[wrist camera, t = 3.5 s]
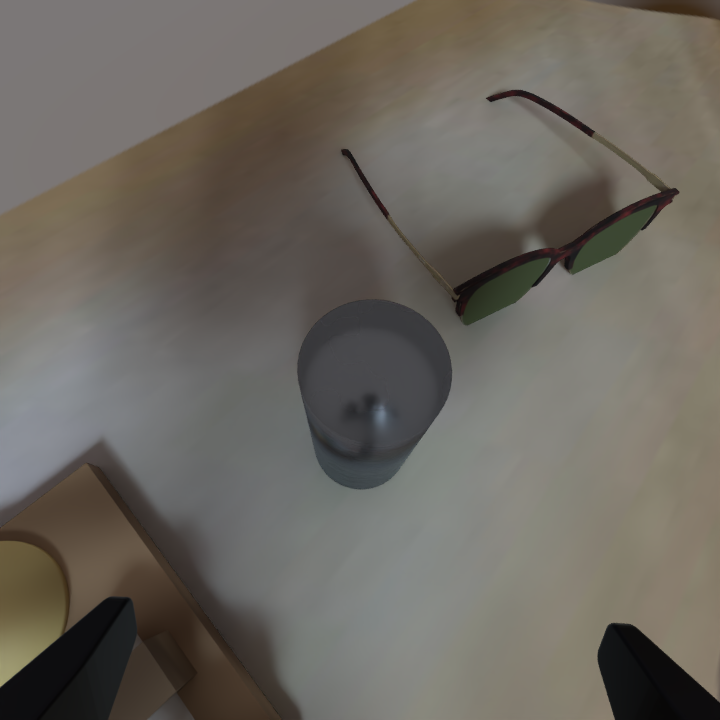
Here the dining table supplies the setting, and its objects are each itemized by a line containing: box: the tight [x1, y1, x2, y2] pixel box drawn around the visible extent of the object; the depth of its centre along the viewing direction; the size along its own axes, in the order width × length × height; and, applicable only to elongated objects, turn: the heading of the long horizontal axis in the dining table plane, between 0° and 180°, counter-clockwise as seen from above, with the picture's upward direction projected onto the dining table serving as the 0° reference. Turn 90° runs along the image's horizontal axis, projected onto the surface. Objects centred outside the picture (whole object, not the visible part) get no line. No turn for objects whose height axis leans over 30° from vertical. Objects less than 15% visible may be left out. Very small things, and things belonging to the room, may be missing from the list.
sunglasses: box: [341, 90, 680, 325], centre depth 28 cm, size 14×15×5 cm
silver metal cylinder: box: [298, 300, 452, 489], centre depth 18 cm, size 5×5×10 cm
